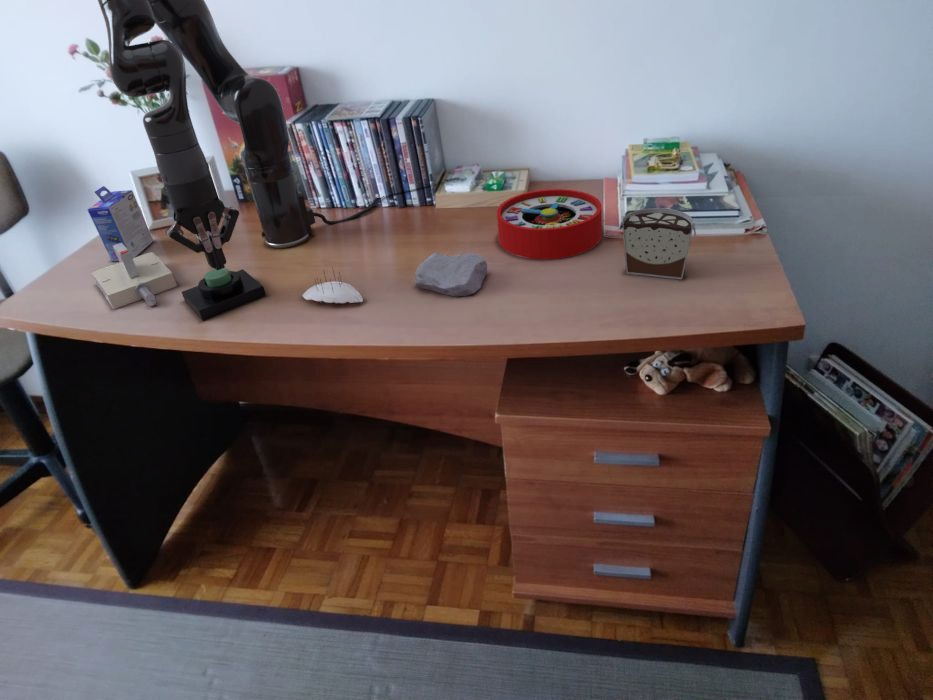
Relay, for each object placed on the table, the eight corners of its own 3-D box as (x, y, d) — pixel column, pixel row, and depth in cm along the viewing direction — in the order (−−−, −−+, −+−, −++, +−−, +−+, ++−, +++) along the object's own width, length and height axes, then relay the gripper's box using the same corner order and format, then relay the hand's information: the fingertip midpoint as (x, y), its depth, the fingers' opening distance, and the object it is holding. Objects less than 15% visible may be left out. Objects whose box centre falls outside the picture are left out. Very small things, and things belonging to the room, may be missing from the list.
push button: (226, 273, 125) (224, 265, 124) (235, 281, 122) (232, 272, 121) (203, 282, 123) (200, 273, 122) (212, 290, 120) (208, 281, 119)
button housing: (246, 279, 131) (240, 260, 128) (266, 296, 124) (260, 276, 121) (185, 302, 125) (177, 283, 123) (202, 321, 118) (195, 301, 116)
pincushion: (294, 306, 119) (286, 277, 116) (312, 289, 124) (304, 262, 121) (354, 312, 115) (347, 282, 112) (370, 294, 120) (364, 266, 117)
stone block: (475, 306, 116) (491, 269, 122) (470, 285, 113) (486, 248, 119) (412, 303, 120) (431, 267, 126) (405, 282, 117) (425, 247, 123)
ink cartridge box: (132, 242, 153) (106, 180, 145) (154, 241, 152) (130, 178, 144) (109, 262, 145) (80, 197, 137) (132, 260, 144) (105, 196, 136)
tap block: (157, 264, 141) (151, 250, 139) (177, 286, 131) (171, 271, 129) (97, 285, 135) (90, 271, 134) (113, 309, 126) (107, 294, 124)
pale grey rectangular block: (122, 268, 133) (111, 244, 130) (131, 265, 134) (121, 241, 131) (130, 278, 129) (119, 254, 126) (139, 275, 130) (129, 250, 127)
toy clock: (582, 234, 118) (479, 224, 126) (582, 264, 121) (482, 252, 129) (614, 192, 132) (520, 185, 140) (614, 220, 135) (522, 212, 144)
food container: (697, 264, 117) (702, 209, 111) (691, 280, 112) (696, 224, 107) (626, 256, 122) (628, 204, 116) (617, 272, 117) (619, 218, 112)
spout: (152, 293, 129) (147, 280, 127) (161, 302, 125) (155, 289, 123) (138, 298, 127) (132, 285, 126) (145, 308, 124) (140, 295, 122)
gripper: (215, 158, 117) (245, 249, 126) (139, 181, 110) (176, 275, 120) (232, 166, 112) (261, 260, 121) (153, 191, 105) (190, 288, 115)
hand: (219, 267), depth 121 cm, fingers closed
